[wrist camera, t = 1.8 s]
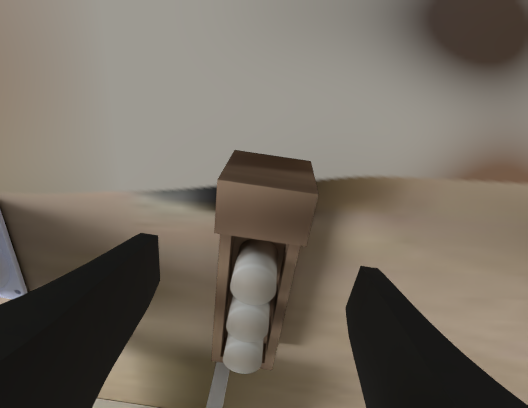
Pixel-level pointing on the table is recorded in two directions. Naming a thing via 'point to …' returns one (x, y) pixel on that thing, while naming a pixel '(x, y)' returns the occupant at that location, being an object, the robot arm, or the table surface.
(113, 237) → the table surface
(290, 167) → the wooden slotted rack
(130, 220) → the table surface
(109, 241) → the table surface
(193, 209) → the table surface
